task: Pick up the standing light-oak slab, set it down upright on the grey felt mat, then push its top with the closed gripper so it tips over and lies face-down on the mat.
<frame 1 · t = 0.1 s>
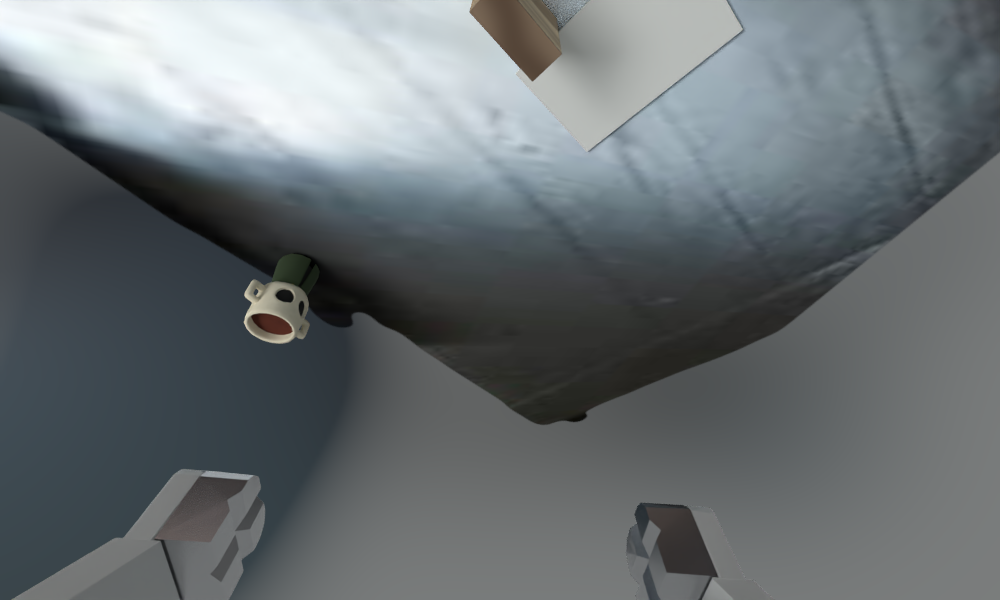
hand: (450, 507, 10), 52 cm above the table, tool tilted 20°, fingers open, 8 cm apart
felt mat: (624, 51, 52), on the table
oak slab: (518, 0, 49), on the table
character mug: (300, 265, 76), on the table
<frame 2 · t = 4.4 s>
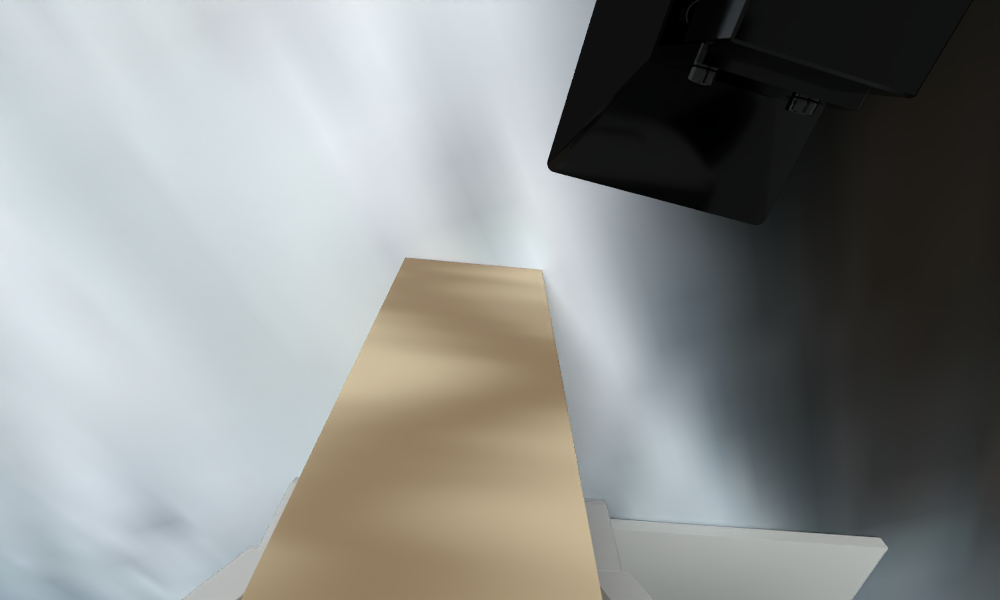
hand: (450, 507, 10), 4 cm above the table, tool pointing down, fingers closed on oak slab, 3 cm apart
oak slab: (464, 389, 14), on the table, touching gripper
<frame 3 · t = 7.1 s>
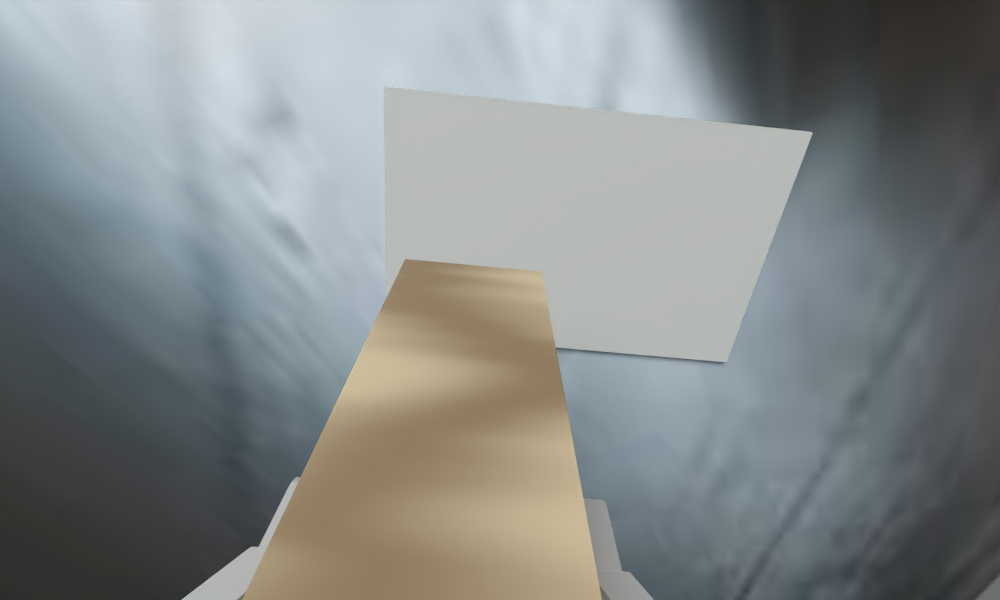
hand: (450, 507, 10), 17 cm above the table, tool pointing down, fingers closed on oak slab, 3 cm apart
felt mat: (576, 240, 25), on the table
oak slab: (464, 390, 14), point 13 cm above the table, touching gripper
when the fingers open (6 cm above the table, at t = 9.7 s): oak slab stays where it is, resting on felt mat.
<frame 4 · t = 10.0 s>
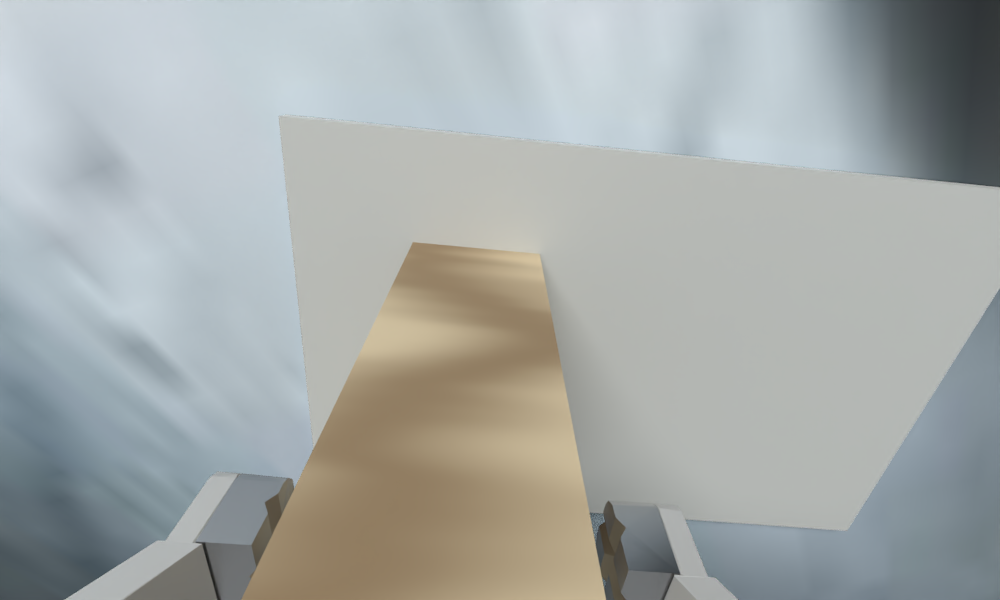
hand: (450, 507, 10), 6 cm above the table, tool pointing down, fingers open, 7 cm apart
felt mat: (623, 362, 15), on the table
oak slab: (467, 367, 15), resting on felt mat
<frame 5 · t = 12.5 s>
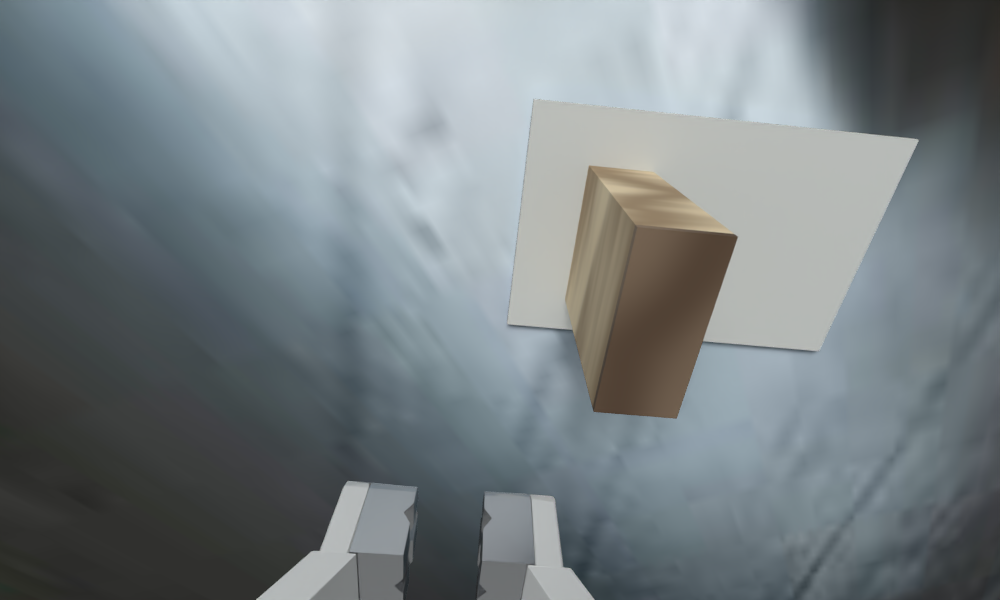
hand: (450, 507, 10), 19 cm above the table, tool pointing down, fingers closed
felt mat: (691, 238, 28), on the table
oak slab: (606, 239, 27), resting on felt mat
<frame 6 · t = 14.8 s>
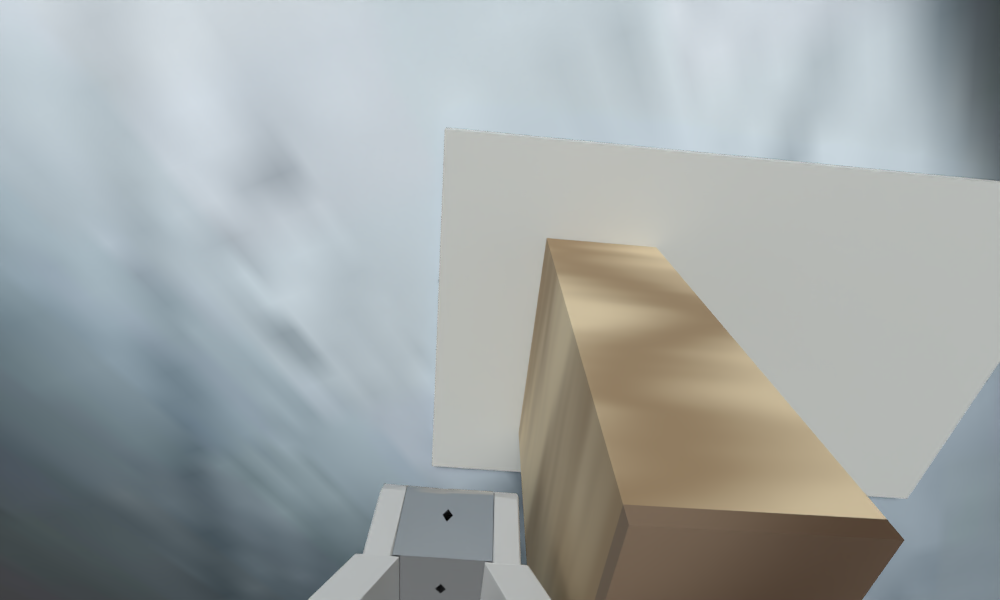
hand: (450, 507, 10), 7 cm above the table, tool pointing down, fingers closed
felt mat: (716, 344, 17), on the table
oak slab: (580, 349, 17), resting on felt mat, touching gripper
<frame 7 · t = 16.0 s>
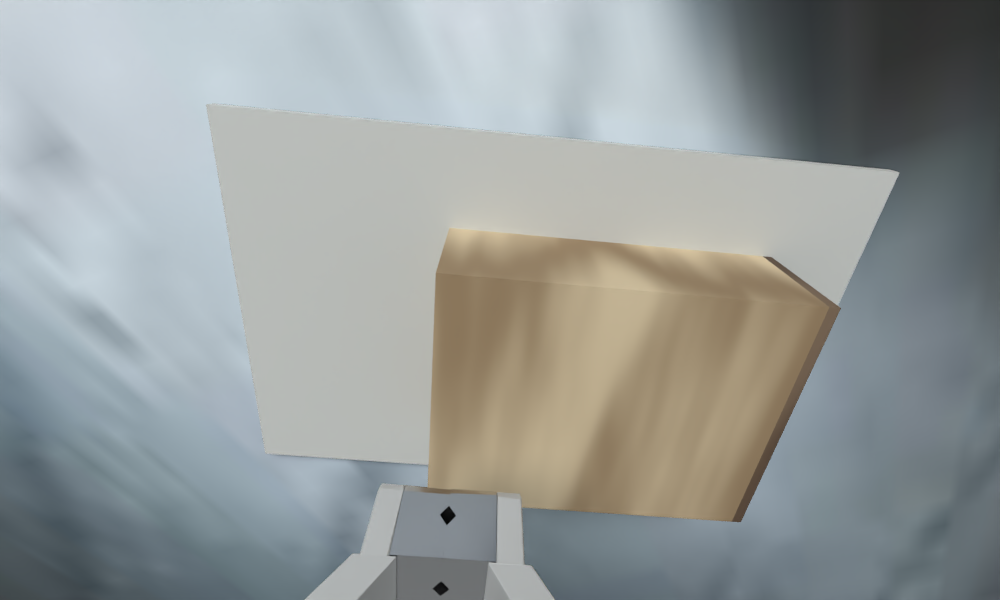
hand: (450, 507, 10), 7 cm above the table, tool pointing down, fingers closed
felt mat: (533, 328, 17), on the table
oak slab: (438, 366, 15), point 2 cm above the table, tilted 90°, touching felt mat
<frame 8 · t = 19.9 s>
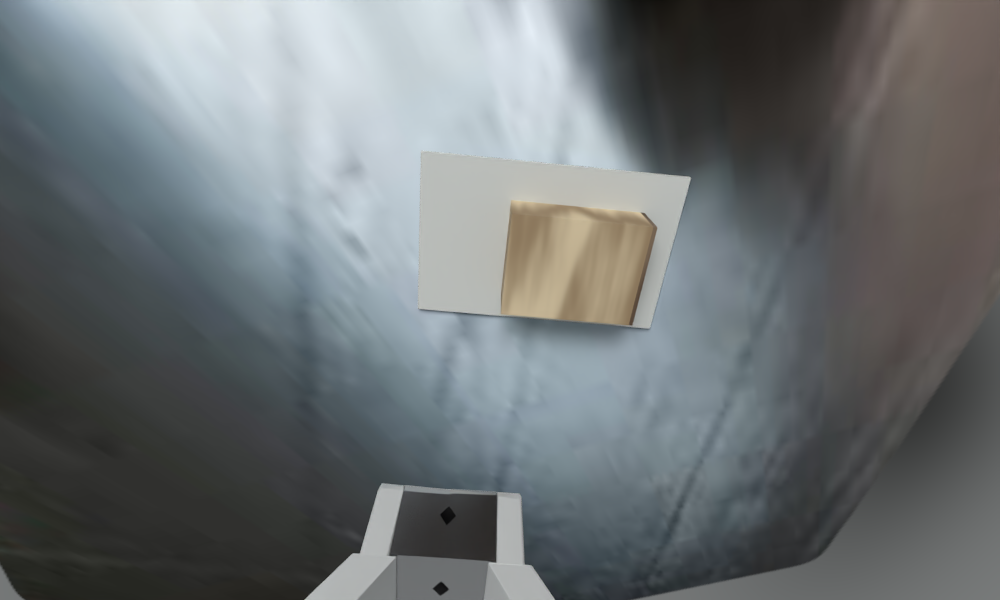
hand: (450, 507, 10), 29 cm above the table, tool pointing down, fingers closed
felt mat: (544, 246, 39), on the table
oak slab: (505, 257, 37), point 2 cm above the table, tilted 90°, touching felt mat
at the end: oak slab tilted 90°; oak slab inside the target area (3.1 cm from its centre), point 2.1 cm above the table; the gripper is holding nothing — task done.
